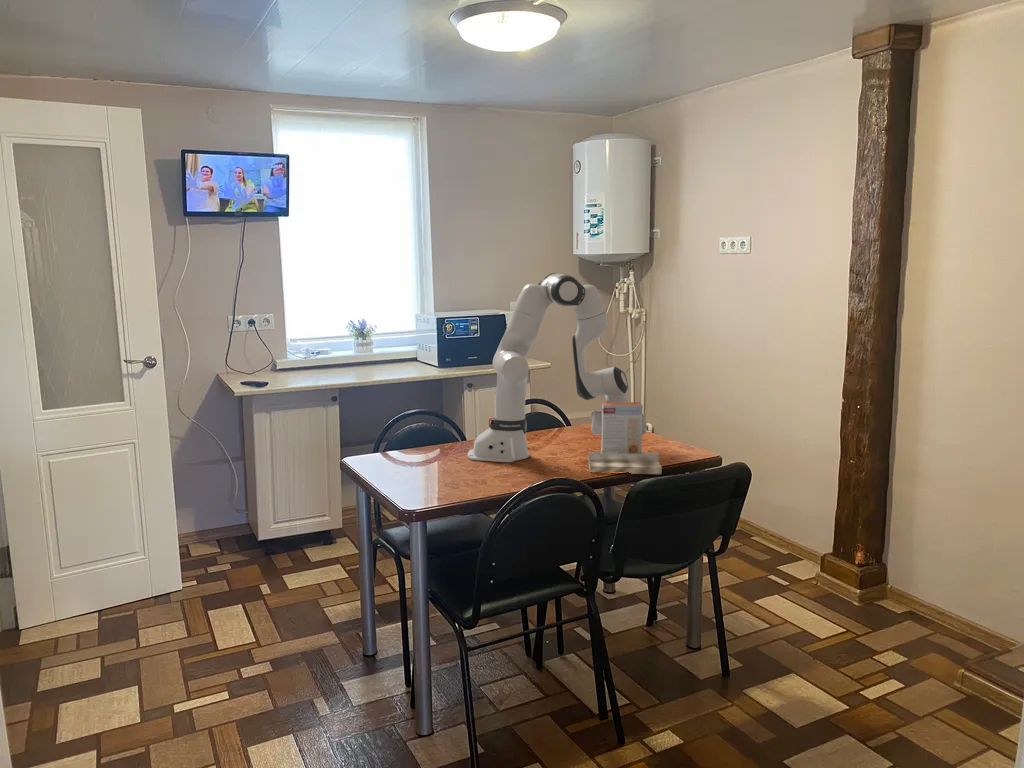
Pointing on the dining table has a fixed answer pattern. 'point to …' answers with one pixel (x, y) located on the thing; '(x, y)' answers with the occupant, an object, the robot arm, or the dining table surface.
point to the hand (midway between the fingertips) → (619, 443)
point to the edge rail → (623, 456)
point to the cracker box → (621, 427)
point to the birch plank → (626, 467)
